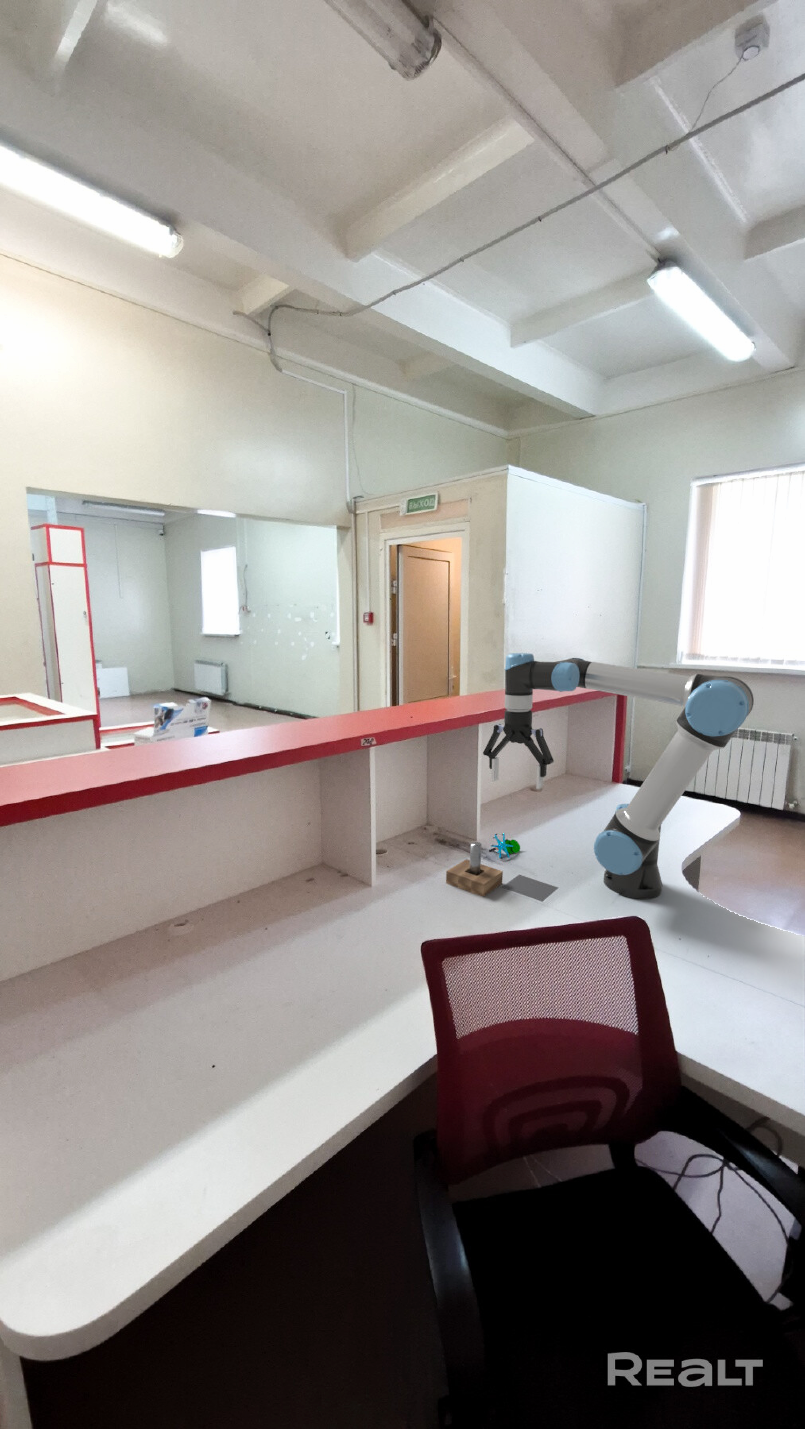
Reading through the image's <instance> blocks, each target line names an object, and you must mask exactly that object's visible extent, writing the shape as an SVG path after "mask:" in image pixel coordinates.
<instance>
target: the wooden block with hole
mask: <svg viewBox="0 0 805 1429" xmlns="http://www.w3.org/2000/svg"><path fill="white" fill-rule="evenodd" d="M469 870H470V859H467V858H466V859H464V860H463V861H461V862H459V863H457V864H456V865H454V866H452V867H451V868H449V869H447V870H445V872H446V874H445V875H446V876H445V880H446V881H445V884H447V885H450V886H453V887H455V888H457V889H458V888H459V889H461V890H463V891H466V892H469V893H471V894H474V895H477V896H480V897H482V898H484V897H486V895H488V894H489V893H491V892H492V891H494V890H495V889H497V888H499V887H500V886H501V885H502V884H503V874H504V872H503V871H504V870H503V871H502V870H499V869H497V868H494V867H491V866H487V865H484V864H482V863H481V869H480V874H479V875H478V876H476V875H473V874H470V873H469Z"/></svg>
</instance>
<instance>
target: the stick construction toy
mask: <svg viewBox="0 0 805 1429" xmlns="http://www.w3.org/2000/svg"><path fill="white" fill-rule="evenodd" d="M497 835H498V833H494V836H493V837H492V839H495V840H496V842H497V844H496V845H495V844H491V845H490V847H491V848H490V849H489V850H488V852H489V853H492V852H493V851H495V853H496V854H498V855H499V856H498V858H499V859H503V857H502V851H503V852H504V853H505V854H506V856H507V858H509V859H510V855H511V854H517V853H519V852H520V851H521V845H520V843H519V842H518V841H517V840H516V839H513V838H512V839H508V838H505V837H506V836H505V835H506V833H502V834H501V835H502V841H501V840H500V839H499V838H498V836H497ZM492 847H493V848H492Z"/></svg>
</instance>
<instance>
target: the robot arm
mask: <svg viewBox="0 0 805 1429" xmlns="http://www.w3.org/2000/svg"><path fill="white" fill-rule="evenodd" d="M504 674H505V676H504V677H505V678H504V680H505V681H504V682H505V683H504V684H505V685H504V687H505V688H504V689H505V690H504V708H505V710H504V717H503V718H504V721H503V723H504V725H502V723H497V724H495V725H494V726H493V732H492V734H491V736H490V738H489V740H488V742H487V744H486V746H485V747H484V748H485V749H484V750H483V752H482V754H483V756H486V757H488V758H489V760H488V761H489V762H488V764H489V769H490V770H491V782H496V781H498V780H499V773H500V772H499V769H500V768H499V765H500V764H499V763H500V762H499V761H500V759H499V757H498V755H499V753H500V752H501V751H502V750H503V749H504V748H505V747H506V746H507V744H509V742H510V743H512V744H514V743H517V744H521V745H522V744H524V746H526V747H527V749H528V750H529V752H530V753H531V754H532V755H533V757H534V759H535V760H536V761H537V762H538V765H536V781H535V782H536V786H535V787H536V788H535V789H536V790H540V789H542V788H543V787H544V778H545V777H547V768H548V767H547V766H548V765H552V763H553V764H554V761H555V760H554V757H553V755H552V753H551V751H550V748H549V746H548V743H547V742H546V740H545V737H544V729H543V728H541V727H540V728H535V729H534V728H533V711H532V708H533V700H534V699H533V698H534V697H533V694H534V693H533V692H534V690H545V691H555V692H560V693H563V692H574V691H575V690H576V689H577V688H580V689H587V690H594V691H599V692H604V693H610V694H615V695H620V696H626V697H630V698H631V697H632V698H635V699H641V700H642V699H643V700H647V701H653V702H657V703H662V704H663V703H664V704H670V705H674V706H679V707H683V710H682V711H681V713H680V714H679V716H678V718H677V719H676V721H675V723H676V727H677V731H676V733H675V734H674V736H673V737H672V739H671V740H670V742H669V743H668V744H667V746H666V748H665V749H664V751H663V753H662V754H661V755H660V756H659V758H658V760H657V761H656V763H655V764H654V765H653V767H652V769H651V771H650V772H649V773H648V775H647V777H646V778H645V780H644V781H643V783H642V784H641V785H640V787H639V789H638V790H637V792H636V793H635V795H634V796H633V797H632V799H631V801H630V802H629V803H621V804H618V805H617V806H616V809H615V812H614V815H613V816H612V817H611V819H610V820H609V822H608V824H607V825H606V826H605V828H604V829H603V831H601V832H600V833H598V835H597V836H596V838H595V840H594V844H593V853H594V856H595V859H596V860H597V861H598V863H599V864H600V866H601V867H603V868H604V869H605V870H604V874H603V884H604V885H605V886H606V887H607V889H609V890H611V891H612V892H614V893H617V894H618V895H621V896H622V897H627V898H632V899H638V900H639V899H640V900H648V899H655V898H658V897H659V896H660V895H661V894H662V892H663V880H662V877H661V873H660V869H659V866H658V860H659V851H660V841H661V830H662V824H663V822H664V821H665V820H666V818H667V816H668V815H669V814H670V812H671V811H672V809H673V808H674V807H675V805H676V804H677V802H678V801H679V800H680V798H681V797H682V795H683V794H684V792H686V790H687V789H688V787H689V786H690V784H691V782H692V781H693V780H694V778H695V777H696V776H697V774H698V773H699V771H700V770H701V769H702V767H703V766H704V764H705V762H707V760H708V759H709V757H710V756H711V754H712V753H713V752H714V751H716V750H721V749H724V748H726V746H727V745H728V743H729V742H730V740H731V739H732V737H733V736H734V735H735V734H736V732H737V730H738V729H739V728H740V727H741V726H742V725H743V724H744V723H745V721H746V719H747V717H749V715H750V714H751V712H752V710H753V708H754V702H755V701H754V693H753V692H752V690H751V688H750V686H749V685H748V684H747V682H744V681H743V680H742V679H740V678H738V677H734V676H728V675H711V674H702V673H695V674H693V675H691V676H687V675H681V674H673V673H667V672H660V671H654V670H648V669H644V668H643V669H642V668H635V667H629V666H622V665H615V664H610V663H602V662H596V661H590V660H589V661H588V660H585V659H584V658H579V657H571V658H568V659H564V660H563V659H562V660H558V661H538V660H535V657H534V654H533V653H529V652H528V653H527V652H514V653H512V652H511V653H509V654H507V655H506V658H505V669H504ZM503 732H504V735H505V736H504V737H503V738H502V739H501V741H500V742H499V743H498V744H497V745H496V743H497V742H498V739H499V737H500V735H501V733H503ZM532 735H533V736H534V738H535V740H536V743H537V744H538V746H537V745H536V744H535V741H534V739H533V738H532ZM495 745H496V746H495ZM494 747H495V748H494Z"/></svg>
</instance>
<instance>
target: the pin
mask: <svg viewBox="0 0 805 1429" xmlns="http://www.w3.org/2000/svg"><path fill="white" fill-rule="evenodd" d="M469 850H470V852H469V860H470V870H469V873H470V874H473V875H476V876H478V875H479V874H480V869H481V864H482V863H481V862H482V842H478V841H473V842H472V841H471V842H470V846H469Z"/></svg>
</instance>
